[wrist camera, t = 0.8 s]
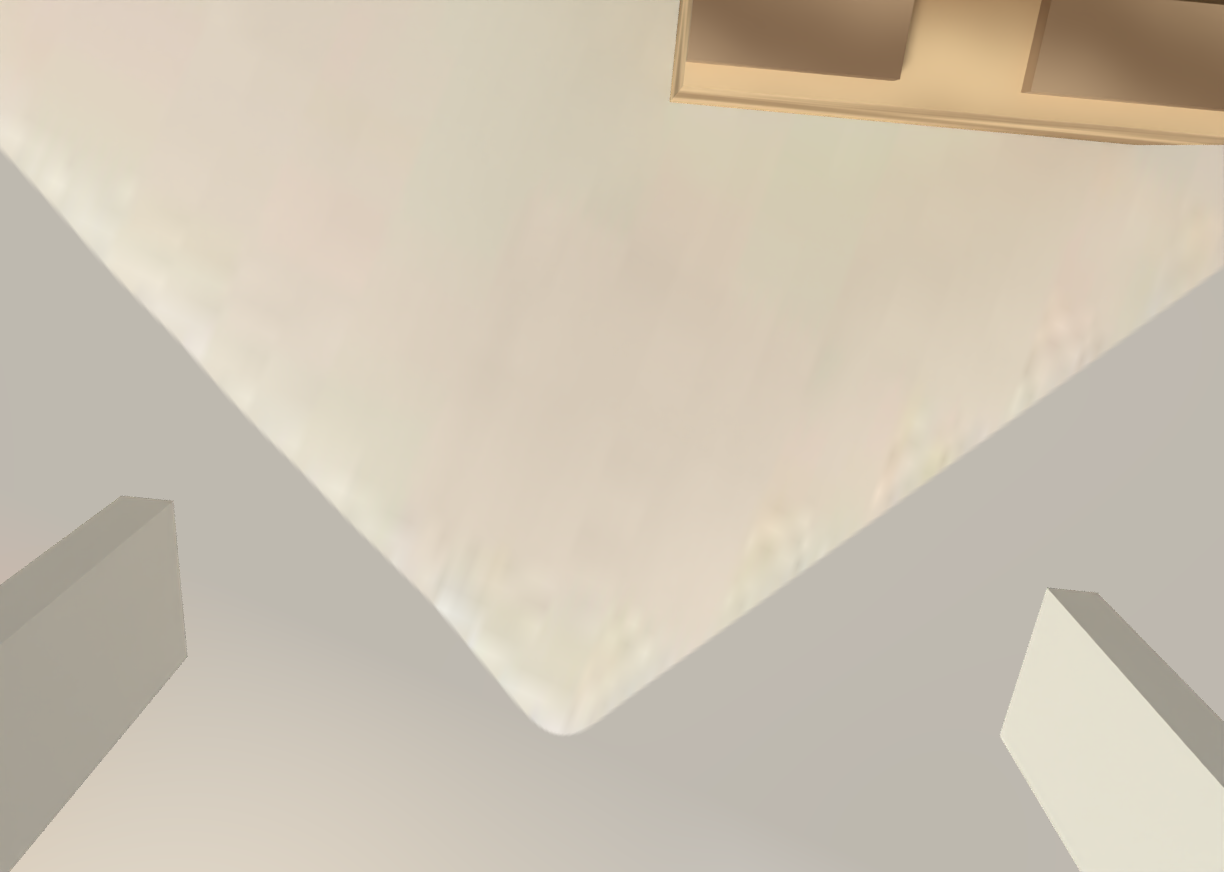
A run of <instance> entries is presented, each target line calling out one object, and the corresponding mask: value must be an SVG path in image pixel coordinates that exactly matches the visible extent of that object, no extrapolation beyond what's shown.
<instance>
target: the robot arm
mask: <svg viewBox="0 0 1224 872" xmlns="http://www.w3.org/2000/svg"><path fill="white" fill-rule="evenodd" d="M186 647H187V646H186V636H185V625H184V614H183V603H182V592H181V581H180V570H179V559H178V548H177V536H176V526H175V514H174V504H173V501H170V500H160V499H150V498H140V497H130V496H120V497H119V498H118V499H116V500H115V501H114V502H112V503H111V504H110V505H108V506H107V507H106V508H104V509H103V510H101V511H100V512H99V513H97V514H96V515H95V516H93V517H92V518H91V519H89V520H88V521H86V522H85V523H84V524H82V525H81V526H80V527H78V528H77V529H76V530H74V531H73V532H72V533H70V534H69V535H68V536H67V537H65V538H63V539H62V540H61V541H59V542H58V543H57V544H55V545H54V546H53V547H51V548H50V549H48V550H47V551H46V552H44V553H43V554H42V555H40V556H39V557H38V558H36V559H35V560H34V561H32V562H31V563H29V564H28V565H27V566H25V568H23V569H21V570H20V571H19V572H17V573H16V574H15V575H13V576H12V577H10V578H9V579H8V580H6V581H5V582H4V583H2V584H1V585H0V872H10V871H11V869H12V868H13V867H14V866H15V865H16V863H17V862H18V861H19V860H20V858H21V857H22V856H23V855H24V854H25V852H26V851H27V850H28V849H29V848H30V846H31V845H32V844H33V843H34V842H35V840H36V839H37V838H38V837H39V836H40V834H41V833H42V832H43V831H44V829H45V828H46V827H47V825H49V823H50V822H51V821H52V820H53V819H54V817H55V816H56V815H57V814H58V813H59V811H60V810H61V809H62V808H63V806H64V805H65V804H66V803H67V802H68V801H69V799H70V798H71V797H72V796H73V794H74V793H75V792H76V791H77V790H78V788H79V787H80V786H81V785H82V784H83V782H84V781H85V780H86V779H87V778H88V776H89V775H90V774H91V773H92V771H93V770H94V769H95V768H96V767H97V766H98V764H99V763H100V762H101V761H102V759H103V758H104V757H105V756H106V755H107V753H108V752H109V751H110V750H111V749H112V747H113V746H114V745H115V744H116V743H117V741H118V740H119V739H120V738H121V737H122V735H123V734H124V733H125V732H126V730H127V729H128V728H129V727H130V725H131V724H132V723H133V722H134V721H135V720H136V718H137V717H138V716H139V714H141V712H142V711H143V710H144V709H145V708H146V706H147V705H148V704H149V703H150V701H151V700H152V699H153V697H155V695H156V694H157V693H158V692H159V690H160V689H161V688H162V687H163V686H164V685H165V683H166V682H167V681H168V680H169V679H170V677H171V676H172V675H173V674H174V673H175V671H176V670H177V669H178V668H179V666H180V665H181V664H182V662H184V660H185V659H186V658H187V648H186ZM1000 737H1001V739H1002V741H1003V742H1004V744H1005V746H1006V747H1007V749H1008V751H1009V752H1010V754H1011V755H1012V757H1013V759H1014V761H1015V762H1016V764H1017V766H1018V768H1019V769H1020V771H1021V772H1022V774H1023V776H1024V778H1025V779H1026V781H1027V782H1028V784H1029V786H1030V788H1031V789H1032V791H1033V793H1034V794H1035V796H1036V798H1037V799H1038V801H1039V803H1040V805H1041V806H1042V808H1043V810H1044V811H1045V813H1046V815H1047V816H1048V818H1049V820H1050V821H1051V823H1052V825H1053V826H1054V828H1055V830H1056V831H1057V833H1058V835H1059V836H1060V838H1061V840H1062V842H1063V843H1064V845H1065V846H1066V848H1067V850H1068V852H1069V853H1070V855H1071V857H1072V858H1073V860H1074V862H1075V863H1076V865H1077V867H1078V868H1079V870H1080V872H1224V721H1222V719H1221V718H1220V717H1219V716H1217V714H1216V713H1214V711H1213V710H1212V709H1211V708H1210V707H1209V706H1208V705H1207V704H1206V703H1205V702H1204V701H1203V700H1202V699H1201V698H1200V697H1199V696H1198V695H1197V694H1196V693H1195V692H1194V691H1193V690H1192V689H1191V688H1190V687H1189V686H1188V685H1187V684H1186V683H1185V682H1184V681H1183V680H1182V679H1181V678H1180V677H1179V676H1178V675H1177V674H1176V672H1175V671H1174V670H1173V669H1172V668H1171V667H1170V666H1169V665H1167V663H1166V662H1165V661H1164V660H1163V659H1162V658H1161V657H1160V656H1159V655H1158V654H1157V653H1156V652H1155V651H1154V650H1153V649H1152V648H1151V647H1150V646H1149V645H1148V644H1147V643H1146V642H1145V641H1144V640H1143V639H1142V638H1141V637H1140V636H1139V635H1138V634H1137V633H1136V632H1135V631H1134V630H1133V629H1132V628H1131V627H1130V626H1129V625H1128V624H1127V623H1126V622H1125V620H1124V619H1123V618H1122V617H1121V616H1120V615H1119V614H1118V613H1117V612H1115V610H1114V609H1113V608H1112V607H1111V606H1110V605H1109V604H1108V603H1107V602H1106V601H1105V600H1104V599H1103V598H1102V597H1101V596H1100V595H1099V594H1098V593H1094V592H1085V591H1075V590H1064V589H1055V588H1047V589H1046V593H1045V596H1044V599H1043V602H1042V605H1041V608H1040V611H1039V614H1038V617H1037V621H1036V624H1035V627H1034V630H1033V633H1032V636H1031V639H1030V642H1029V646H1028V649H1027V652H1026V655H1025V658H1024V661H1023V664H1022V667H1021V671H1020V674H1019V677H1018V680H1017V683H1016V686H1015V689H1014V692H1013V696H1012V699H1011V702H1010V705H1009V708H1008V712H1007V714H1006V717H1005V720H1004V724H1003V727H1002V730H1001V733H1000Z"/></svg>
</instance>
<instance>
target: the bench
mask: <svg viewBox="0 0 1224 872" xmlns="http://www.w3.org/2000/svg"><path fill="white" fill-rule="evenodd" d="M670 102H677V103H687V104H698V105H709V106H720V107H731V108H742V109H752V110H763V111H774V112H785V113H796V114H807V115H818V116H828V117H839V118H850V119H861V120H872V121H883V122H893V123H904V124H915V125H926V126H937V127H948V128H958V129H969V130H980V131H991V132H1002V133H1013V134H1024V135H1034V136H1045V137H1056V138H1067V139H1078V140H1089V141H1099V142H1110V143H1121V144H1132V145H1224V0H680V6H679V16H678V25H677V35H676V45H675V55H674V65H673V75H672V84H671V94H670Z"/></svg>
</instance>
